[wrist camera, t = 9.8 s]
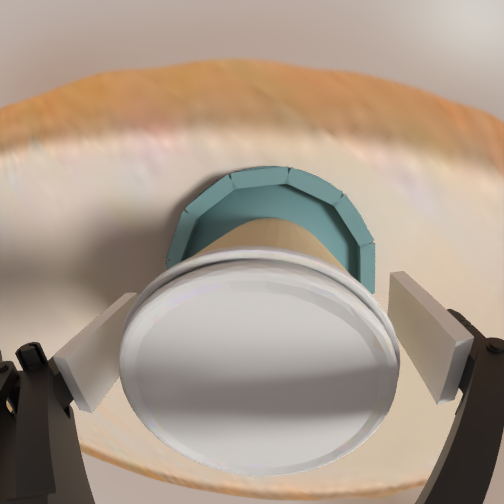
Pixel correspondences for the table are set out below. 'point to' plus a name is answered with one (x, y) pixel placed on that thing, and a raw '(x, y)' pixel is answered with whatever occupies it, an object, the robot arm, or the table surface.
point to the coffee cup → (260, 354)
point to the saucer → (278, 216)
